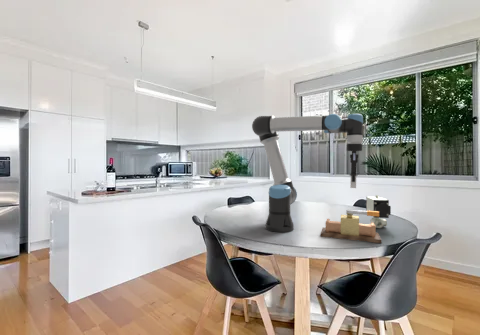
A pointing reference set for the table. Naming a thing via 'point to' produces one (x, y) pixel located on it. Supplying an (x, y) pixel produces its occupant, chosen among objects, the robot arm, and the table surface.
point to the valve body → (350, 226)
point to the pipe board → (350, 237)
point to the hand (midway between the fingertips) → (353, 187)
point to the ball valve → (380, 206)
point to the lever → (363, 212)
